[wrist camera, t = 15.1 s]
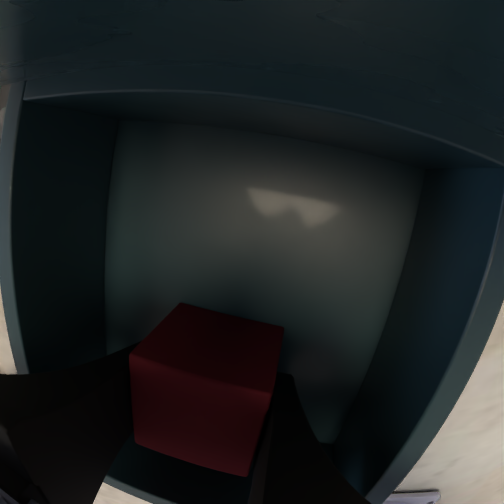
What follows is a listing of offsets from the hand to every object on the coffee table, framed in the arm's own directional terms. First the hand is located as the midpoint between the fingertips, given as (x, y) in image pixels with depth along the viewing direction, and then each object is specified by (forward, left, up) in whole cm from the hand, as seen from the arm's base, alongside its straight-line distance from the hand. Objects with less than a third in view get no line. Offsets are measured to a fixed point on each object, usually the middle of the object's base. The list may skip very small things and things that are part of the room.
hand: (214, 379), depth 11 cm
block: (0, 0, -1) cm, 1 cm away
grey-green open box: (+2, 0, -2) cm, 3 cm away
